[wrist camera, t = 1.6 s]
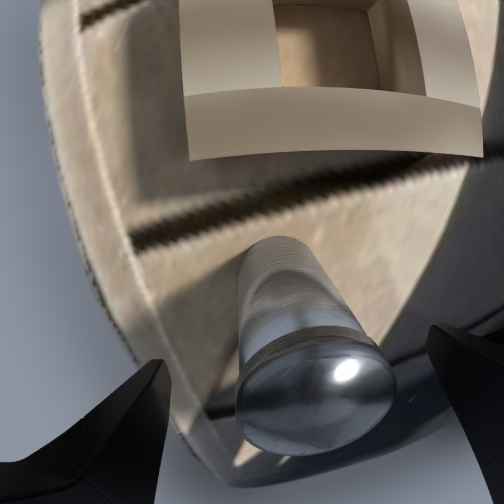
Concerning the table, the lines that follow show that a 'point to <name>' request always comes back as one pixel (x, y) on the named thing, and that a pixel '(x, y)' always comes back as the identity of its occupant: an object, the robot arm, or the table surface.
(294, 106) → the block
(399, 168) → the table surface
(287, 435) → the key peg
